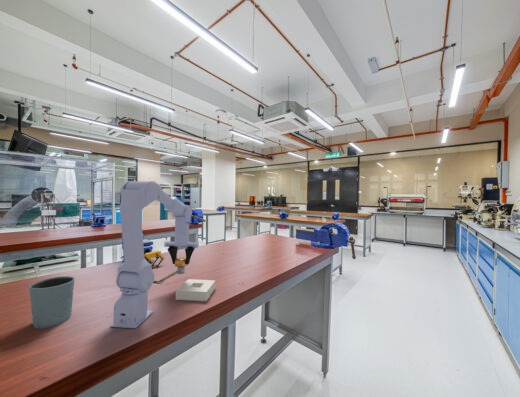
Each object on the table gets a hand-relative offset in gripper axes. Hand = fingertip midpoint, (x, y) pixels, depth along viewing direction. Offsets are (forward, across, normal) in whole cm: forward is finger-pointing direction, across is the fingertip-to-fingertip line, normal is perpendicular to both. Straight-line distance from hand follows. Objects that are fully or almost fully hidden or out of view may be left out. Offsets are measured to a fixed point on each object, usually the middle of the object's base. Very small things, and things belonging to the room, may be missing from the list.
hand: (181, 263), depth 94 cm
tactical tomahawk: (+11, +10, -13) cm, 20 cm away
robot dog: (+11, +29, -23) cm, 39 cm away
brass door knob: (+4, 0, 0) cm, 4 cm away
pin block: (+10, -9, +5) cm, 15 cm away
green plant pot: (+11, +28, +29) cm, 42 cm away
